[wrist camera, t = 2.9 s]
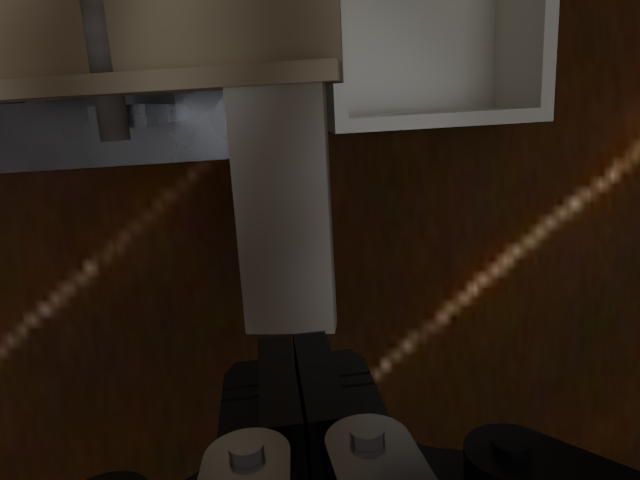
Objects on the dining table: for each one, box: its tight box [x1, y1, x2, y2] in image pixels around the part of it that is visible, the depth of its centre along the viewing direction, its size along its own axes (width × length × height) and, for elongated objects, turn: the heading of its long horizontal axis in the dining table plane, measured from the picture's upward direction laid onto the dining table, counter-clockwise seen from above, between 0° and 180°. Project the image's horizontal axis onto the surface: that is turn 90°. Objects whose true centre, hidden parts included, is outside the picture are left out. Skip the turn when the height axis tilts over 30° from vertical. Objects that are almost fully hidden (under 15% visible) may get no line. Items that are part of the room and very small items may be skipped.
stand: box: [0, 90, 229, 173], centre depth 22 cm, size 16×12×8 cm
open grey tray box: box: [325, 0, 560, 134], centre depth 25 cm, size 10×10×6 cm
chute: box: [0, 0, 344, 334], centre depth 18 cm, size 16×15×4 cm
